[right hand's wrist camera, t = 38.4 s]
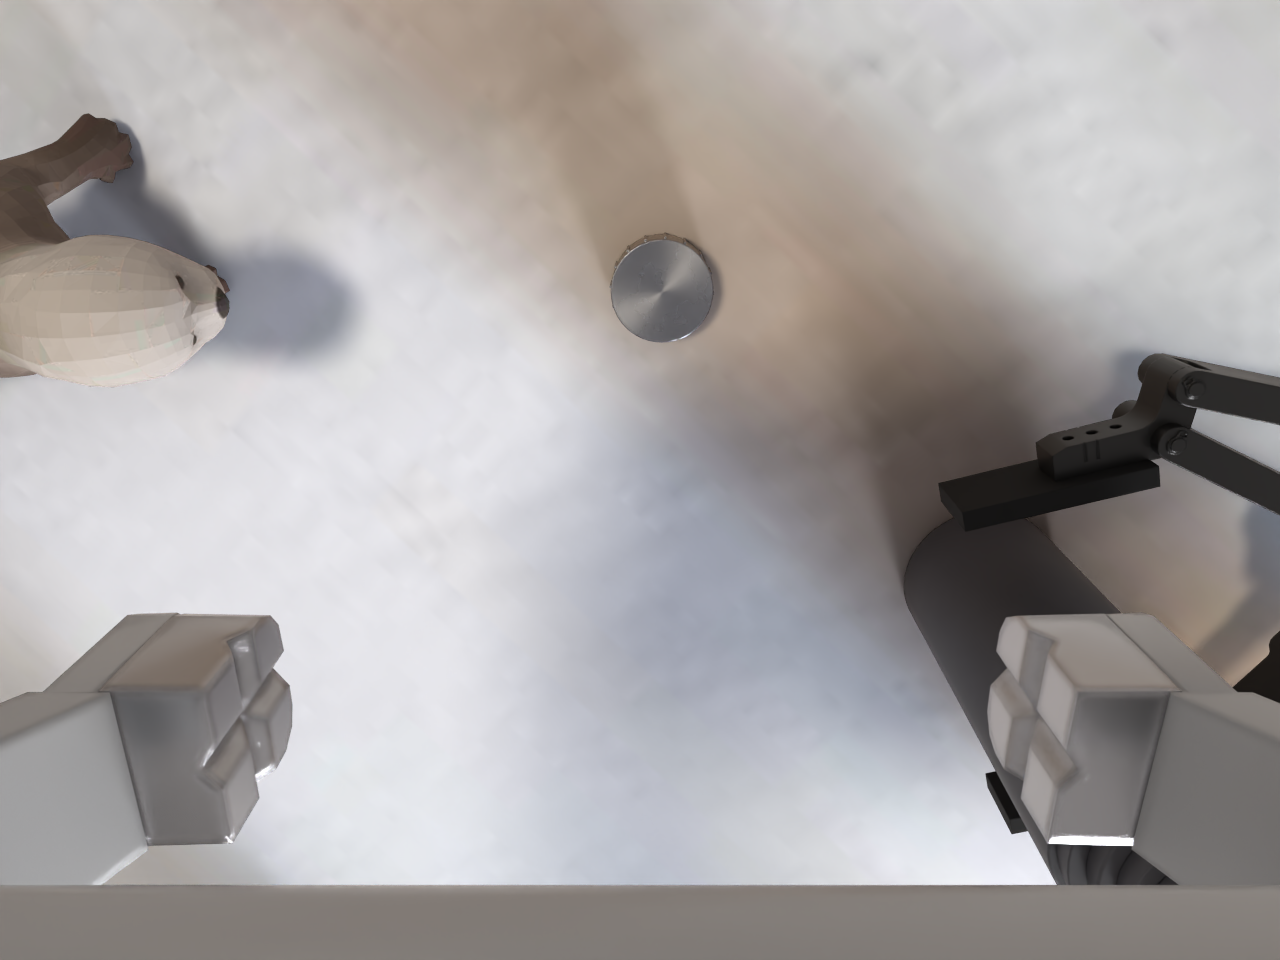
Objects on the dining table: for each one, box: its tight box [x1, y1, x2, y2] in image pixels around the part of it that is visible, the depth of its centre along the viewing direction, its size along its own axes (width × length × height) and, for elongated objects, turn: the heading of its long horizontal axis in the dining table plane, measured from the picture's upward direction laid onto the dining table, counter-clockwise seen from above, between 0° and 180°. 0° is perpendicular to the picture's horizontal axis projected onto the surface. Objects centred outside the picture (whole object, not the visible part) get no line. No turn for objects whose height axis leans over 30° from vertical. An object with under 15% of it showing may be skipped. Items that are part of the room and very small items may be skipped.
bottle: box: [904, 518, 1178, 885], centre depth 30 cm, size 7×7×21 cm
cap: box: [610, 233, 714, 342], centre depth 34 cm, size 4×4×2 cm
